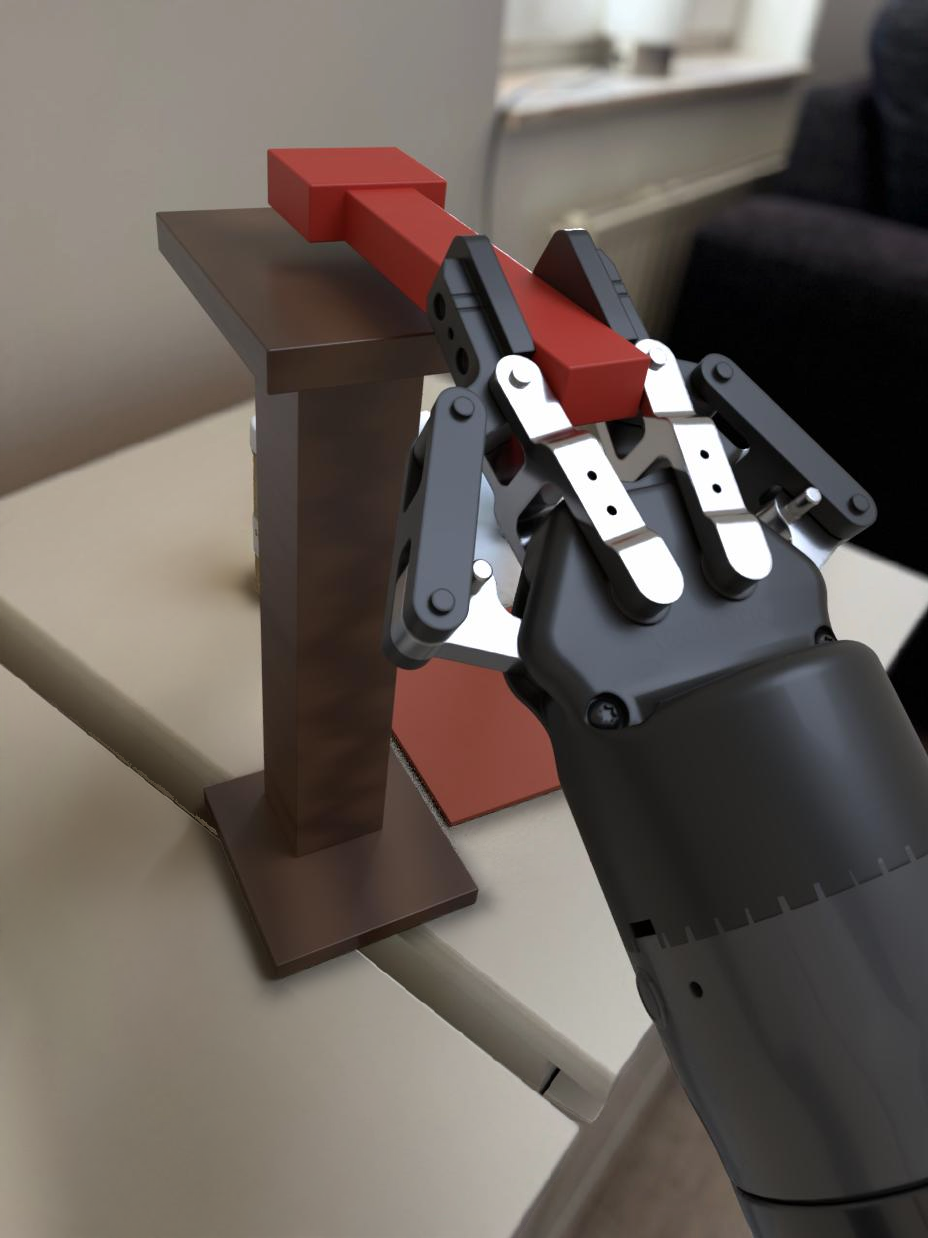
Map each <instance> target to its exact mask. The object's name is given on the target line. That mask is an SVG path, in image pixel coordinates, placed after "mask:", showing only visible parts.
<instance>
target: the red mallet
mask: <svg viewBox="0 0 928 1238" xmlns="http://www.w3.org/2000/svg"><path fill="white" fill-rule="evenodd" d="M266 167H267V168H266V169H267V171H266V173H267V174H266V175H267V176H266V177H267V178H266V179H267V204H268V205H269V206H270V207H272V208H273V209H274V210H275V211H276V212H277V213H278V214H280V215H281V216H282V217H283V218H284V219H285V220H286V221H287V222H288V223H289V224H290V225H291V226H292V227H293V228H294V229H295V230H296V231H297V232H299V233H300V234H301V235H302V236H303V237H304V238H305V239H306V240H307V241H308V242H310V243H319V242H336V241H345V242H346V243H347V244H348V245H350V246H351V247H352V248H353V249H354V250H355V251H356V252H357V253H359V254H360V255H361V256H362V257H363V258H364V259H365V260H366V261H368V262H369V263H370V264H371V265H372V266H373V267H374V268H376V269H377V270H378V271H379V272H380V273H381V274H382V275H383V276H385V277H386V278H387V279H388V280H389V281H390V282H391V283H392V284H394V285H395V286H396V287H397V288H398V289H399V290H400V291H401V292H403V293H404V294H405V295H406V296H407V297H408V298H409V299H410V300H412V301H413V302H414V303H415V304H416V305H417V306H418V307H419V308H421V309H422V310H423V311H424V312H425V313H426V300H427V295H428V293H429V290H430V288H431V286H432V284H433V282H434V279H435V277H436V275H437V273H438V270H439V268H440V266H441V264H442V262H443V259H444V258H445V255H446V253H447V251H448V249H449V247H450V244H451V242H452V240H453V238H454V237H455V236H458V235H475V234H478V232H476V231H475V230H473V229H471V228H470V227H469V226H467V225H466V224H464V223H463V222H462V221H461V220H459V219H458V218H456V217H455V216H453V215H452V214H450V213H449V212H448V211H446V210H445V207H446V197H447V188H448V187H447V186H448V182H447V180H446V179H445V178H443V177H442V176H441V175H439V174H438V173H436V172H434V171H433V170H431V169H430V168H428V167H427V166H426V165H424V164H423V163H421V162H419V161H418V160H417V159H415V158H413V157H412V156H410V155H409V154H408V153H406V152H404V151H403V150H402V149H400V148H398V147H397V146H381V147H380V146H379V147H378V146H375V147H374V146H370V147H368V146H367V147H359V146H358V147H304V148H303V147H297V148H268V149H267V150H266ZM491 245H492V247H493V249H494V251H495V254H496V256H497V258H498V260H499V263H500V265H501V267H502V269H503V272H504V274H505V276H506V279H507V281H508V283H509V285H510V288H511V290H512V292H513V294H514V297H515V299H516V301H517V303H518V306H519V308H520V310H521V312H522V315H523V317H524V319H525V322H526V324H527V326H528V328H529V331H530V333H531V335H532V337H533V344H534V346H535V348H536V352H535V354H534V355H533V357H532V358H531V361H532V362H533V363H535V364H536V365H537V367H538V368H539V369H540V371H541V372H542V374H543V376H544V377H545V379H546V381H547V383H548V384H549V386H550V388H551V390H552V391H553V393H554V395H555V397H556V398H557V400H558V402H559V404H560V405H561V407H562V409H563V411H564V413H565V414H566V416H567V418H568V420H569V421H570V423H571V425H572V426H573V427H574V428H576V427H581V426H586V425H595V423H600V422H606V421H613V420H619V419H625V418H631V417H636V416H637V414H638V410H639V406H640V402H641V398H642V393H643V389H644V385H645V381H646V377H647V373H648V369H649V365H650V361H651V358H650V356H649V355H647V354H646V353H644V352H643V351H642V350H640V349H639V348H637V347H636V346H635V345H633V344H632V343H630V342H629V341H628V340H626V339H625V338H623V337H622V336H621V335H619V334H618V333H616V332H615V331H614V330H612V329H610V328H609V327H607V326H606V325H605V324H603V323H602V322H600V321H599V320H598V319H596V318H595V317H593V316H592V315H591V314H589V313H588V312H586V311H585V310H584V309H582V308H581V307H579V306H578V305H577V304H575V303H574V302H572V301H571V300H570V299H568V298H567V297H565V296H564V295H563V294H561V293H560V292H558V291H557V290H555V289H554V288H553V287H551V286H550V285H548V284H547V283H546V282H544V281H543V280H541V279H540V278H539V277H537V276H536V275H534V274H533V271H531V270H529V269H528V268H527V267H525V266H524V265H522V264H521V263H519V262H518V261H516V259H513V258H512V257H511V256H510V255H508V254H507V253H506V252H504V251H503V250H501V249H499V248H498V247H497V246H495V245H494V244H493V243H491Z"/></svg>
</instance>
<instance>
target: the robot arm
mask: <svg viewBox="0 0 928 1238" xmlns="http://www.w3.org/2000/svg"><path fill="white" fill-rule="evenodd" d="M491 244H492V243H491V241H490V238H489V237H488V236H487V235H486V234H485V233H484V234H483V233H477V234H475V235H458V236H455V237H454V238H453V240H452V242H451V244H450V247H449V249H448V251H447V253H446V255H445V258H444V259H443V262H442V264H441V266H440V268H439V270H438V273H437V275H436V277H435V279H434V282H433V284H432V286H431V288H430V290H429V293H428V295H427V300H426V315H427V317H428V319H429V322H430V324H431V327H432V329H433V331H435V336H436V339H437V341H438V344H440V349H441V351H442V353H443V356H444V358H445V361H446V363H447V366H448V368H449V370H450V373H449V374H450V375H451V378H452V380H453V382H454V385H455V386H450V387H446V388H445V389H443V390H442V391H440V393H439V394H438V396H437V397H436V399H435V402H434V403H433V405H432V407H431V408H430V411H429V412H430V417H429V419H428V420H427V422H426V424H425V426H424V428H423V430H422V431H421V433H420V435H419V437H418V438H416V439H415V441H414V442H413V444H412V446H411V447H410V449H409V451H408V453H407V455H406V460H405V468H404V475H403V483H402V490H401V498H400V505H399V513H398V520H397V528H396V535H395V543H394V550H393V558H392V565H391V572H390V580H389V587H388V595H387V602H386V610H385V617H384V625H383V632H382V641H381V644H382V649H383V652H384V654H385V656H386V657H387V659H388V660H389V661H390V662H391V663H392V664H393V665H395V666H397V667H398V668H401V669H405V670H416V669H419V668H421V667H423V666H425V665H426V664H427V663H428V662H429V661H430V660H431V658H433V657H435V658H441V659H445V660H450V661H455V662H459V663H464V664H469V665H473V666H478V667H483V668H487V669H492V670H497V671H501V672H502V673H503V676H504V679H505V681H506V683H507V685H508V687H509V689H510V690H511V692H512V693H513V694H514V696H515V697H516V698H517V699H518V700H519V701H520V702H521V703H523V704H524V705H525V706H526V707H527V708H528V709H529V710H530V711H531V712H532V713H533V714H534V715H535V716H536V718H537V719H538V720H539V721H540V723H541V724H542V725H543V727H544V728H545V730H546V732H547V733H548V736H549V738H550V741H551V744H552V748H553V752H554V758H555V763H556V769H557V774H558V779H559V782H560V785H561V788H560V789H561V790H562V793H563V795H564V798H565V801H566V803H567V806H568V808H569V811H570V813H571V816H572V819H573V821H574V824H575V825H576V828H577V831H578V833H579V835H580V838H581V841H582V844H583V847H584V849H585V851H586V853H587V856H588V858H589V860H590V864H591V866H592V868H593V871H594V874H595V876H596V879H597V881H598V884H599V887H600V890H601V891H602V894H603V897H604V899H605V902H606V904H607V907H608V909H609V912H610V914H611V917H612V920H613V922H614V924H615V928H616V931H617V932H618V934H619V937H620V940H621V943H622V945H623V947H624V950H625V952H626V955H627V958H628V960H629V962H630V965H631V968H632V970H633V972H634V975H635V986H636V989H637V993H638V996H639V999H640V1002H641V1003H642V1006H643V1008H644V1010H645V1011H646V1013H647V1015H648V1017H649V1018H650V1020H651V1021H652V1022H653V1023H654V1025H655V1028H656V1031H657V1033H658V1036H659V1039H660V1040H661V1043H662V1046H663V1048H664V1051H665V1053H666V1055H667V1058H668V1060H669V1062H670V1064H671V1067H672V1069H673V1071H674V1074H675V1075H676V1078H677V1079H678V1082H679V1083H680V1086H681V1087H682V1089H683V1091H684V1093H685V1095H686V1097H687V1099H688V1101H689V1103H690V1104H691V1106H692V1108H693V1110H694V1111H695V1113H696V1115H697V1117H698V1118H699V1120H700V1122H701V1124H702V1125H703V1127H704V1129H705V1131H706V1133H707V1135H708V1137H709V1139H710V1141H711V1142H712V1144H713V1147H714V1148H715V1150H716V1153H717V1155H718V1157H719V1159H720V1161H721V1164H722V1166H723V1168H724V1171H725V1173H726V1175H727V1177H728V1178H729V1180H730V1184H731V1187H732V1189H733V1191H734V1194H735V1196H736V1199H737V1201H738V1204H739V1206H740V1208H741V1212H742V1214H743V1217H744V1219H745V1221H746V1224H747V1226H748V1229H749V1232H750V1234H751V1236H752V1238H928V754H927V752H926V749H925V748H924V745H923V743H922V742H921V740H920V737H919V735H918V733H917V731H916V730H915V727H914V726H913V723H912V722H911V719H910V718H909V716H908V714H907V712H906V709H905V707H904V706H903V704H902V702H901V699H900V697H899V695H898V693H897V692H896V689H895V688H894V686H893V684H892V681H891V680H890V678H889V675H888V673H887V671H886V670H885V667H884V665H883V664H882V662H881V659H880V657H879V656H878V654H877V653H876V652H875V650H873V649H872V648H871V647H870V646H868V645H867V644H865V643H863V642H861V641H858V640H853V639H839V640H838V638H837V637H836V634H835V632H834V629H833V627H832V624H831V619H830V614H829V604H828V603H829V602H828V601H829V599H828V588H827V584H826V581H825V578H824V575H823V573H822V572H821V570H822V568H823V567H824V566H825V565H826V563H827V562H828V561H829V560H830V558H831V557H832V556H833V555H834V553H835V552H836V550H837V549H838V548H839V547H840V546H842V545H843V544H845V543H846V542H848V541H849V540H851V539H852V538H854V537H855V536H856V535H858V534H860V533H861V532H863V531H864V530H866V529H868V528H869V527H871V526H872V525H873V524H875V522H876V520H877V519H878V518H877V517H878V508H877V505H876V502H875V501H874V498H873V497H872V496H871V494H870V493H869V492H868V491H867V490H866V489H865V488H864V487H862V485H861V484H859V482H858V481H856V479H854V477H852V476H851V475H850V474H849V473H848V472H847V471H846V470H845V469H844V468H843V467H842V466H841V464H839V463H838V462H837V461H836V460H835V459H834V458H833V457H832V456H831V455H830V454H828V452H827V451H826V450H824V448H823V447H821V445H820V444H819V443H818V442H816V440H815V439H813V438H812V437H811V436H810V435H809V433H807V432H806V431H805V430H804V429H803V428H802V427H801V426H800V425H799V424H798V423H797V422H796V421H795V420H794V419H793V418H791V416H789V415H788V413H786V412H785V410H783V408H781V407H780V406H779V404H777V403H776V402H775V401H774V400H773V398H771V397H770V396H769V395H768V394H767V393H766V392H765V391H764V390H763V389H762V388H761V387H760V386H759V385H758V384H757V383H756V382H755V381H754V380H752V379H751V378H750V376H748V375H747V374H746V373H745V371H744V370H742V369H741V368H740V367H739V366H738V365H737V364H736V363H735V362H734V361H733V360H732V359H731V358H729V357H728V356H725V355H723V354H721V353H715V352H713V353H709V354H707V355H705V356H704V357H703V358H702V359H701V361H699V362H693V361H689V360H685V359H680V358H676V357H675V354H674V353H673V351H672V350H671V348H669V347H668V346H667V345H665V344H664V343H663V342H661V341H659V340H657V339H652V338H651V337H650V335H649V332H648V330H647V328H646V326H645V324H644V322H643V321H642V318H641V317H640V314H639V311H638V310H637V308H636V306H635V304H634V302H633V300H632V297H631V296H630V295H629V291H628V289H627V287H626V284H625V283H624V282H623V279H622V276H621V273H619V270H618V268H617V265H616V264H615V262H613V260H612V259H611V258H610V256H608V254H607V253H606V252H605V251H604V250H603V249H602V248H597V247H596V245H595V242H594V240H593V238H592V236H591V233H590V232H589V231H588V230H587V229H585V228H569V229H558V230H556V231H555V232H554V233H553V234H552V236H551V238H550V240H549V241H548V243H547V244H546V246H545V248H544V250H543V251H542V253H541V255H540V257H539V259H538V260H537V262H536V264H535V266H534V268H533V269H532V273H533V274H534V275H536V276H537V277H539V278H540V279H541V280H543V281H544V282H546V283H547V284H548V285H550V286H551V287H553V288H554V289H555V290H557V291H558V292H560V293H561V294H563V295H564V296H565V297H567V298H568V299H570V300H571V301H572V302H574V303H575V304H577V305H578V306H579V307H581V308H582V309H584V310H585V311H586V312H588V313H589V314H591V315H592V316H593V317H595V318H596V319H598V320H599V321H600V322H602V323H603V324H605V325H606V326H607V327H609V328H610V329H612V330H614V331H615V332H616V333H618V334H619V335H621V336H622V337H623V338H625V339H626V340H628V341H629V342H630V343H632V344H633V345H635V346H636V347H637V348H639V349H640V350H642V351H643V352H644V353H646V354H647V355H649V356H650V358H651V361H650V365H649V369H648V373H647V377H646V381H645V385H644V389H643V393H642V398H641V402H640V406H639V410H638V414H637V416H636V417H631V418H625V419H619V420H613V421H606V422H600V423H594V425H595V428H596V432H597V435H598V438H599V441H600V443H601V445H600V444H599V441H598V440H597V438H596V437H595V436H594V434H592V432H590V431H589V430H587V429H576V427H573V426H572V425H571V423H570V421H569V420H568V418H567V416H566V414H565V413H564V411H563V409H562V407H561V405H560V404H559V402H558V400H557V398H556V397H555V395H554V393H553V391H552V390H551V388H550V386H549V384H548V383H547V381H546V379H545V377H544V376H543V374H542V372H541V371H540V369H539V368H538V367H537V365H536V364H535V363H533V362H532V361H531V358H532V357H533V355H534V354H535V352H536V348H535V346H534V344H533V337H532V335H531V333H530V331H529V328H528V326H527V324H526V322H525V319H524V317H523V315H522V312H521V310H520V308H519V306H518V303H517V301H516V299H515V297H514V294H513V292H512V290H511V288H510V285H509V283H508V281H507V279H506V276H505V274H504V272H503V269H502V267H501V265H500V263H499V260H498V258H497V256H496V254H495V251H494V249H493V247H492V245H491ZM717 413H718V414H719V415H720V416H721V417H722V418H723V419H724V420H725V421H726V422H727V423H728V424H729V425H730V426H731V427H732V428H733V429H734V430H736V432H737V433H739V435H740V436H741V437H743V439H745V440H746V442H747V444H748V448H745V449H742V448H739V447H737V446H736V445H734V443H733V442H732V441H731V440H730V439H729V438H728V437H727V436H725V435H724V433H723V432H721V431H720V430H719V429H718V428H717V426H716V424H715V422H714V420H713V419H712V418H713V417H714V416H715V415H716V414H717ZM483 476H484V478H485V480H486V482H487V483H488V485H489V488H490V489H491V491H492V495H493V515H494V518H495V521H496V523H497V526H498V528H499V529H500V530H501V533H502V532H503V534H504V536H503V537H504V538H505V540H506V542H507V544H508V545H509V547H510V549H511V551H512V553H513V555H514V557H515V558H516V560H517V562H518V564H519V566H520V568H521V570H520V574H519V577H518V581H517V586H516V590H515V594H514V598H513V601H512V606H511V607H512V610H511V614H510V613H509V612H507V611H506V610H505V609H504V608H505V607H504V606H503V605H502V603H501V601H500V598H499V595H498V589H497V582H496V578H495V576H494V570H493V566H492V565H491V563H490V562H488V561H487V560H485V559H482V558H477V559H475V554H476V542H477V534H478V533H477V532H478V524H479V523H478V521H479V512H480V510H479V509H480V502H481V501H480V500H481V491H482V490H481V489H482V479H483ZM562 498H563V499H562ZM559 500H560V502H559V503H558V501H559ZM557 503H558V504H557Z"/></svg>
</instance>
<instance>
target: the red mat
mask: <svg viewBox="0 0 928 1238" xmlns="http://www.w3.org/2000/svg"><path fill="white" fill-rule="evenodd" d="M504 609H505V610H506V611H507V612H509V613H510V614H511V610H512V606H508V607H504ZM391 735H392V736H393V737H394V739H395V740H396V743H397V744H398V745H399V747H400V748H401V750H402V753H404V755H405V757H406V758H407V759H408V761H409V763H410V764H411V766H412V768H413V769H414V771H415V773H416V774H417V776H418V777H419V779H420V780H421V782H422V784H423V785H424V787H425V789H426V790H427V792H428V794H429V795H430V797H431V799H432V800H433V801H434V803H435V805H436V806H437V808H438V809H439V811H440V812H441V814H442V816H443V818H444V819H445V821H446V822H447V824H448V825H449V827H450V828H451V827H453V826H456V825H460V824H463V823H466V822H468V821H471V820H474V819H477V818H480V817H482V816H486V815H488V814H491V813H494V812H497V811H500V810H502V809H505V808H508V807H512V806H515V805H517V804H520V803H523V802H526V801H529V800H531V799H534V798H537V797H540V796H543V795H546V794H549V793H552V792H555V791H558V790H560V789H562V788H561V785H560V782H559V779H558V774H557V769H556V763H555V758H554V752H553V748H552V744H551V741H550V738H549V736H548V733H547V732H546V730H545V728H544V727H543V725H542V724H541V723H540V721H539V720H538V719H537V718H536V716H535V715H534V714H533V713H532V712H531V711H530V710H529V709H528V708H527V707H526V706H525V705H524V704H523V703H521V702H520V701H519V700H518V699H517V698H516V697H515V696H514V694H513V693H512V692H511V690H510V689H509V687H508V685H507V683H506V681H505V679H504V676H503V673H502V672H501V671H497V670H492V669H487V668H483V667H478V666H473V665H469V664H464V663H459V662H455V661H450V660H445V659H441V658H435V657H433V658H431V660H430V661H429V662H428V663H427V664H426V665H425V666H423V667H421V668H419V669H416V670H405V669H401V668H398V667H397V677H396V688H395V699H394V710H393V721H392V732H391Z"/></svg>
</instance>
